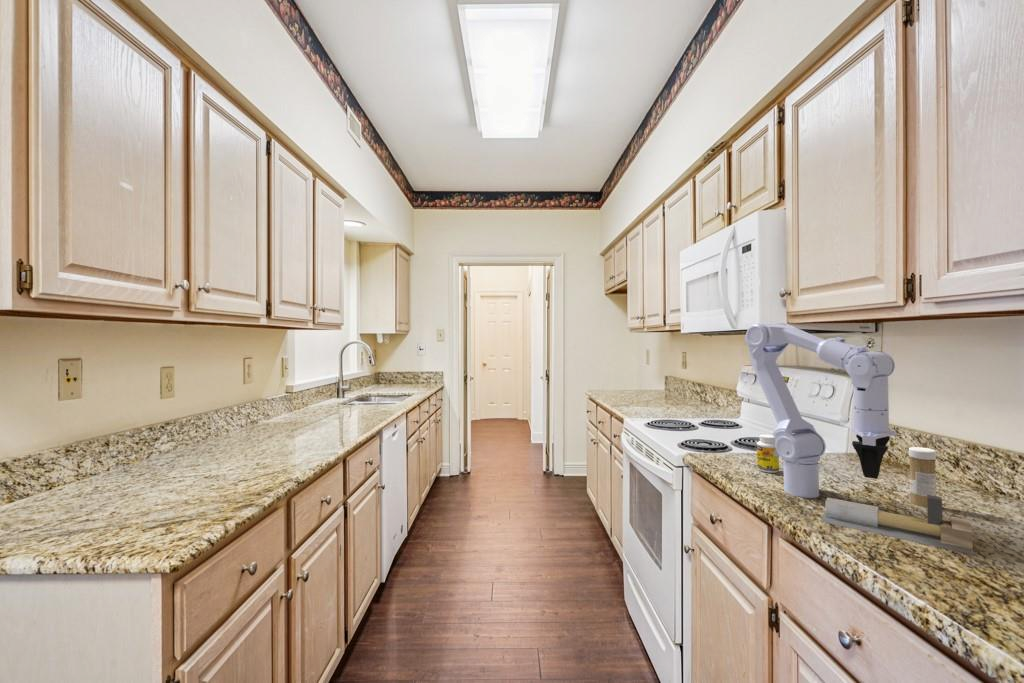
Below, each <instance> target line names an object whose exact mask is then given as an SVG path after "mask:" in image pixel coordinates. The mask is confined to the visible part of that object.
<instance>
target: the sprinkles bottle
mask: <svg viewBox="0 0 1024 683" xmlns="http://www.w3.org/2000/svg"><path fill="white" fill-rule="evenodd" d="M908 456H909V470H910V471H909V491H910V492H909V493H910V503H911V504H913V505H915V506H918V507H923V508H927V495H932V496H937V471H936V459H937V451H936V450H935V449H932V448H928V447H920V446H911V447H909V448H908Z"/></svg>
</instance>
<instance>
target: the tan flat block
mask: <svg viewBox="0 0 1024 683" xmlns="http://www.w3.org/2000/svg"><path fill="white" fill-rule="evenodd" d="M926 511H927V514H926V515H927V519H925V518H924V519H923V518H919V517H914V516H907V515H903V514H898V513H891V512H888V511H881V510H878V512H877V514H878V524H882V525H887V526H892V527H897V528H902V529H906V530H911V531H916V532H921V533H926V534H931V535H936V536H941V526H940V524H941V525H946V526H951V527H952V525H951V524H946V523H943V521H942V518H943V498H942V496H937V495H936V496H932V495H927V507H926Z"/></svg>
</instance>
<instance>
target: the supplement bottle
mask: <svg viewBox="0 0 1024 683" xmlns="http://www.w3.org/2000/svg"><path fill="white" fill-rule="evenodd" d="M779 456H780V455H779V454H778V452H777V450H776V446H775V437H774V435H773V434H772V435H771V434H760V435H759V440H758V441H756V468H757V470H758V471H760V472H763V473H769V474H775V473H778V472H779V471H780V457H779Z"/></svg>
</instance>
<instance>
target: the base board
mask: <svg viewBox="0 0 1024 683" xmlns="http://www.w3.org/2000/svg"><path fill="white" fill-rule="evenodd" d="M820 522H821V523H825V524H830V525H834V526H838V527H844V528H848V529H853V530H858V531H863V532H866V533H872V534H876V535H881V536H885V537H889V538H895V539H899V540H904V541H909V542H912V543H918V544H923V545H927V546H931V547H936V548H940V549H945V550H949V551H955V552H959V553H963V554H969V555H975V553H974V550H973V549H974V548H973V549H969V548H964V547H960V546H955V545H950V544H945V543H941V538H940V536H936V535H931V534H926V533H921V532H916V531H911V530H906V529H902V528H897V527H892V526H887V525H882V524H878V528H877V527H872V526H868V525H863V524H858V523H853V522H848V521H844V520H839V519H834V518H829V517H826V510H825V509H824V512H823V514H822V517H821V519H820Z"/></svg>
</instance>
